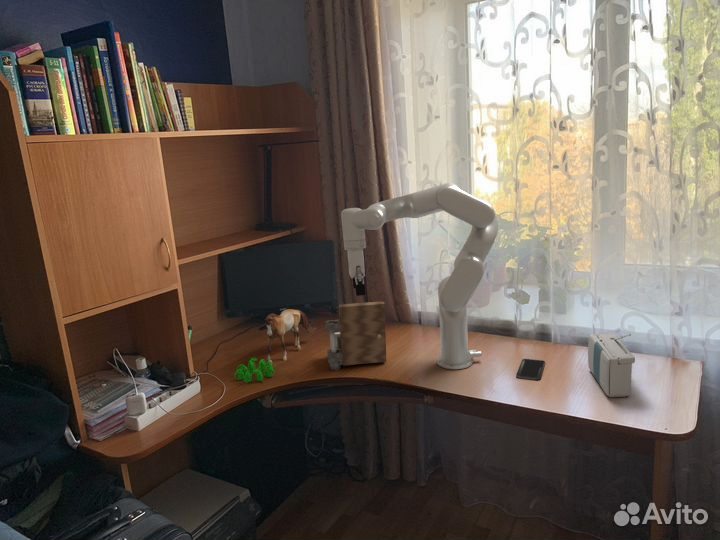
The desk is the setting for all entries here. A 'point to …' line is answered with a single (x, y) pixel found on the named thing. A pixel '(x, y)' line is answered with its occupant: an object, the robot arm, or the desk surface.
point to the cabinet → (335, 344)
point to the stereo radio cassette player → (610, 364)
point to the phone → (530, 369)
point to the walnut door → (359, 333)
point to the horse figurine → (286, 327)
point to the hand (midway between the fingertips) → (359, 291)
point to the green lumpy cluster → (251, 368)
